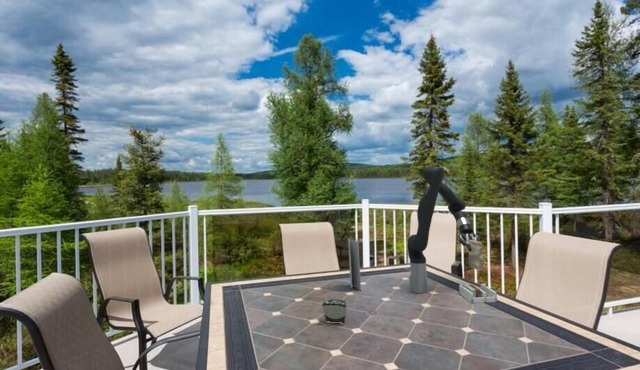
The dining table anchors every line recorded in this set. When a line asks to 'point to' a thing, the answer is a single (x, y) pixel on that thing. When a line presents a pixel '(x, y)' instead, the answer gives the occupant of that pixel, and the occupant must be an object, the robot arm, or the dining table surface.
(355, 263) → the dark grey tall slab
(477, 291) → the grey green block
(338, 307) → the food container
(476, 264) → the grey green board
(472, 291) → the sage offcut board
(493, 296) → the rack
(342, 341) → the dining table surface
